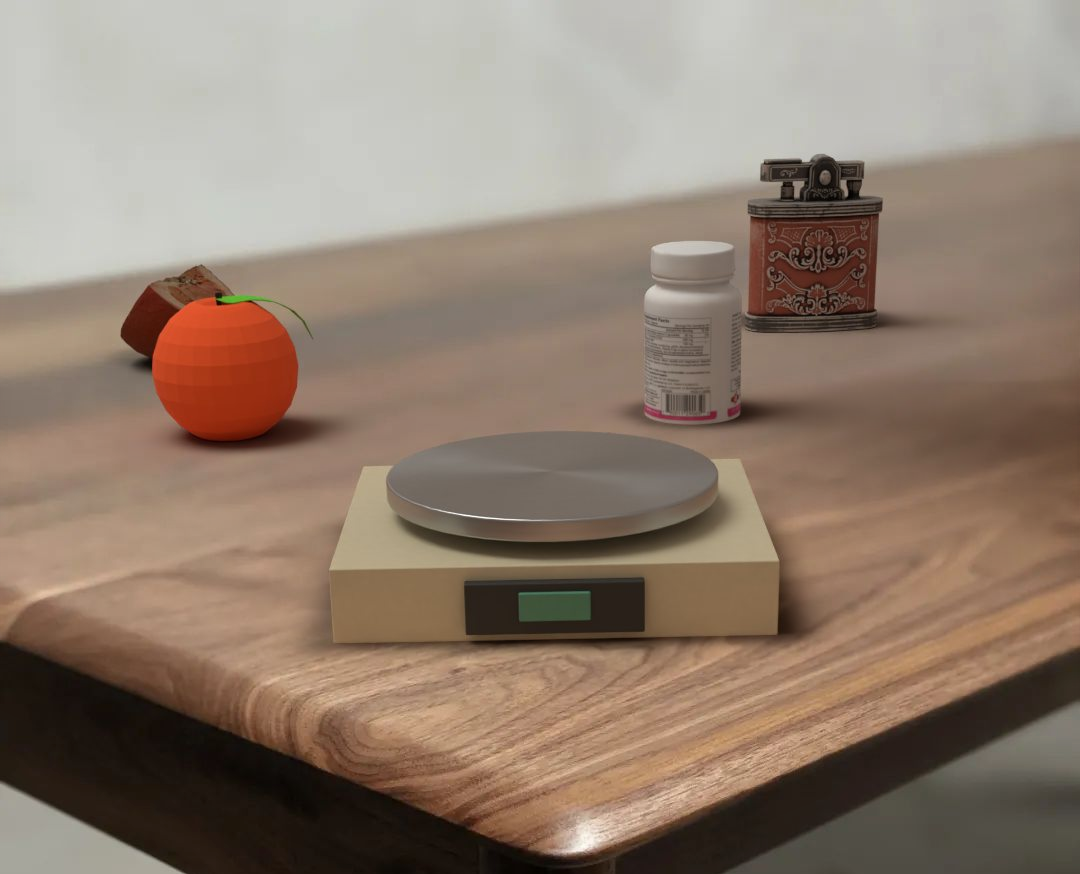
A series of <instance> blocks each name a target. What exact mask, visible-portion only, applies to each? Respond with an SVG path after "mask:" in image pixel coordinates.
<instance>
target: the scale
mask: <svg viewBox="0 0 1080 874" xmlns="http://www.w3.org/2000/svg"><path fill="white" fill-rule="evenodd" d="M709 459H710V460H711V461H712V462H713V463H714V464H715V466H716V468H717V470H718V495H717V498H716V500H715V502H714V503H713V504H712V505H711V506H710V507H709V508H708V509H706V510H705V511H704V512H702V513H701V514H699V515H697V516H695V517H693V518H691V519H688V520H686V521H683V522H681V523H678V524H675V525H672V526H668V527H665V528H661V529H658V530H653V531H649V532H644V533H640V534H634V535H628V536H622V537H615V538H607V539H598V540H586V541H570V542H514V541H499V540H487V539H479V538H471V537H464V536H459V535H454V534H448V533H444V532H440V531H436V530H432V529H428V528H425V527H423V526H420V525H417V524H414V523H412V522H410V521H408V520H406V519H404V518H402V517H401V516H399V515H398V514H396V513H395V512H394V511H393V510H392V509H391V508H390V505H389V503H388V501H387V491H386V477H387V475H388V473H389V471H390V469H391V468H392V467H393V466H394V465H364V466H363V467H362V470H361V472H360V476H359V479H358V481H357V484H356V488H355V490H354V493H353V496H352V499H351V503H350V505H349V508H348V511H347V513H346V514H347V515H346V517H345V521H344V523H343V526H342V529H341V532H340V535H339V538H338V541H337V545H336V547H335V551H334V553H333V557H332V560H331V562H330V566H329V568H328V580H329V581H328V582H329V595H330V596H329V597H330V609H331V622H332V623H331V624H332V638H333V640H332V641H333V644H368V643H369V644H372V643H373V644H374V643H375V644H378V643H422V642H423V643H425V642H429V643H430V642H474V641H477V642H479V641H481V642H482V641H522V640H523V641H524V640H526V641H529V640H575V639H576V640H577V639H578V640H581V639H582V640H583V639H627V638H628V639H630V638H633V639H635V638H677V637H678V638H679V637H680V638H682V637H730V636H735V637H736V636H776V635H778V633H779V632H778V631H779V630H778V627H779V600H780V599H779V598H780V596H779V595H780V570H781V569H780V567H781V565H780V564H781V562H780V559H779V555H778V554H777V551H776V549H775V548H776V547H775V545H774V543H773V541H772V537H771V535H770V532H769V530H768V527H767V524H766V523H765V522H766V521H765V519H764V517H763V514H762V511H761V508H760V507H759V504H758V501H757V499H756V496H755V493H754V491H753V487H752V486H751V483H750V480H749V478H748V475H747V473H746V469H745V467H744V464H743V462H742V460H741V458H709Z"/></svg>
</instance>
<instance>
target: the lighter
mask: <svg viewBox="0 0 1080 874" xmlns="http://www.w3.org/2000/svg"><path fill="white" fill-rule="evenodd" d="M759 167H760V170H759V171H760V172H759V174H760V175H759V182H761V183H782V185H780V197H765V198H753V199H749V200H747V215H748V216H749V217H750V218H749V254H748V255H749V258H748V259H749V260H748V262H749V263H748V298H747V299H748V300H747V301H748V303H747V305H748V306H747V310H746V311H745V312H744V329H746V330H747V331H752V332H762V333H797V332H798V333H801V332H802V333H803V332H804V333H805V332H833V331H847V330H850V331H851V330H863V329H871V328H875V327H876V326H877V321H878V310H877V309H876V308H875V304H876V303H875V302H876V285H877V267H878V266H877V264H878V242H879V225H880V213H881V214H882V213H883V205H884V204H883V202H884V198H883V197H881V196H876V195H860V191H861V189H862V186H863V180H864V179H865V161H864V160H857V159H856V160H855V159H854V160H851V159H850V160H836V159H835V158H834V157H832V156H830V155H828V154H826V153H816V154H814V155H812V157H810V160H809V161H803V159H801V157H800V158H799V157H792V158H790V157H789V158H765V159H763V162H761V163H760V166H759ZM841 181H846V182H845V186H846V189H847V195H846V194H845V190H844V188H842V185H841V184H842V182H841ZM794 182H803V186H802V187H800V189H799V195H798V196H795V185H794Z"/></svg>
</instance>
